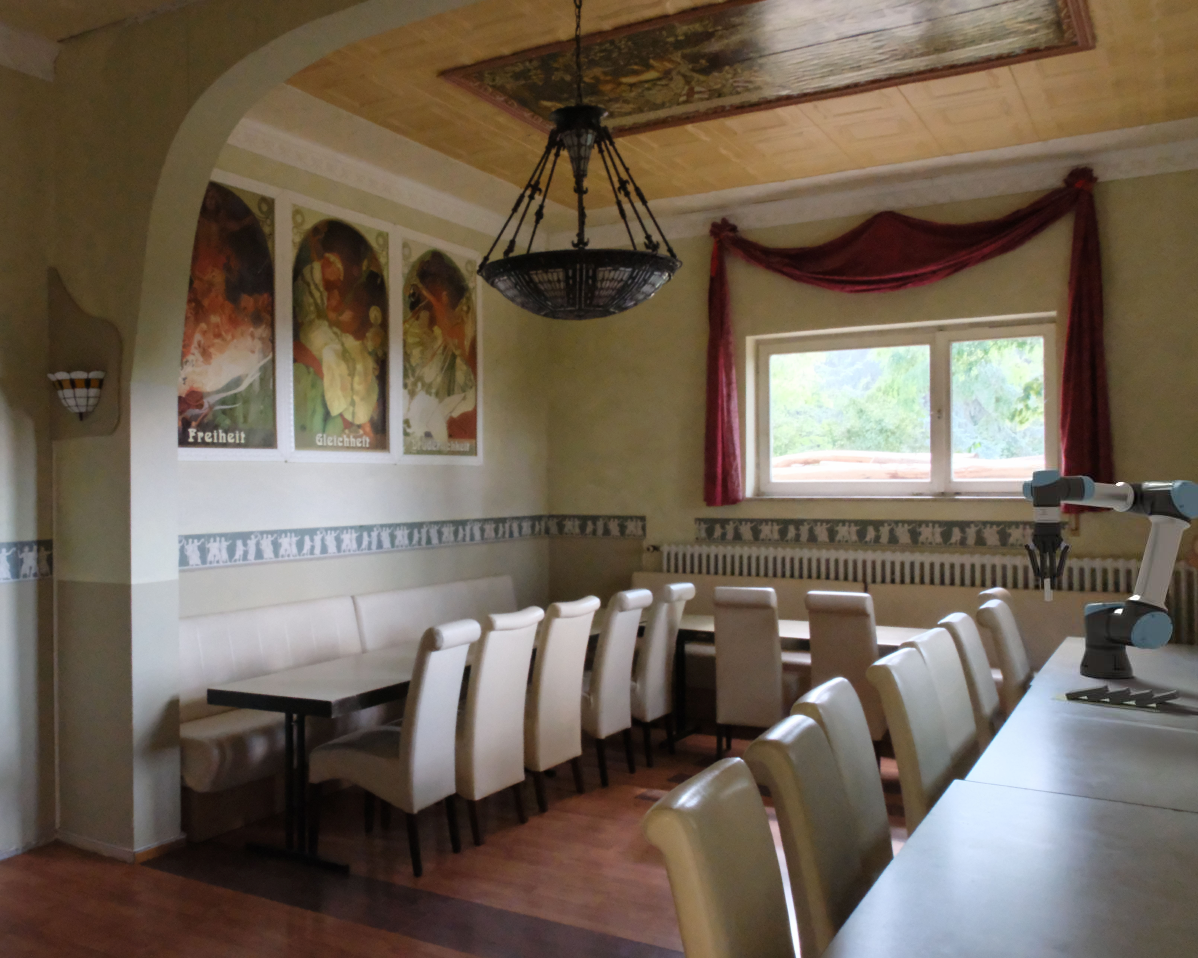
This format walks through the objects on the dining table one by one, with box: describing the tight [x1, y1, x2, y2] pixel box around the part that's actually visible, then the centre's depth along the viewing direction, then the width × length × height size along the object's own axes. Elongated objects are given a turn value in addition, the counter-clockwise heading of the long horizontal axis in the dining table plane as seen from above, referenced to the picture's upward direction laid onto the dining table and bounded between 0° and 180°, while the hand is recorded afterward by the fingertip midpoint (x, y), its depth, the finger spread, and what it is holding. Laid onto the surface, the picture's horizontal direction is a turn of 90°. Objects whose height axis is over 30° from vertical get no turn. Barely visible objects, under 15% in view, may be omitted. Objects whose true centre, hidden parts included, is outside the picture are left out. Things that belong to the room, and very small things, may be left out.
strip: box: [1051, 693, 1161, 713], centre depth 268 cm, size 9×27×1 cm, turn 48°
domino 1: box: [1064, 684, 1110, 699], centre depth 271 cm, size 5×2×10 cm
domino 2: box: [1086, 686, 1132, 702], centre depth 268 cm, size 5×2×10 cm
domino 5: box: [1155, 701, 1198, 716], centre depth 256 cm, size 5×2×10 cm
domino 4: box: [1134, 689, 1181, 707], centre depth 260 cm, size 5×2×10 cm
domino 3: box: [1109, 689, 1155, 704], centre depth 264 cm, size 5×2×10 cm
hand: (1048, 600), depth 289 cm, fingers closed
